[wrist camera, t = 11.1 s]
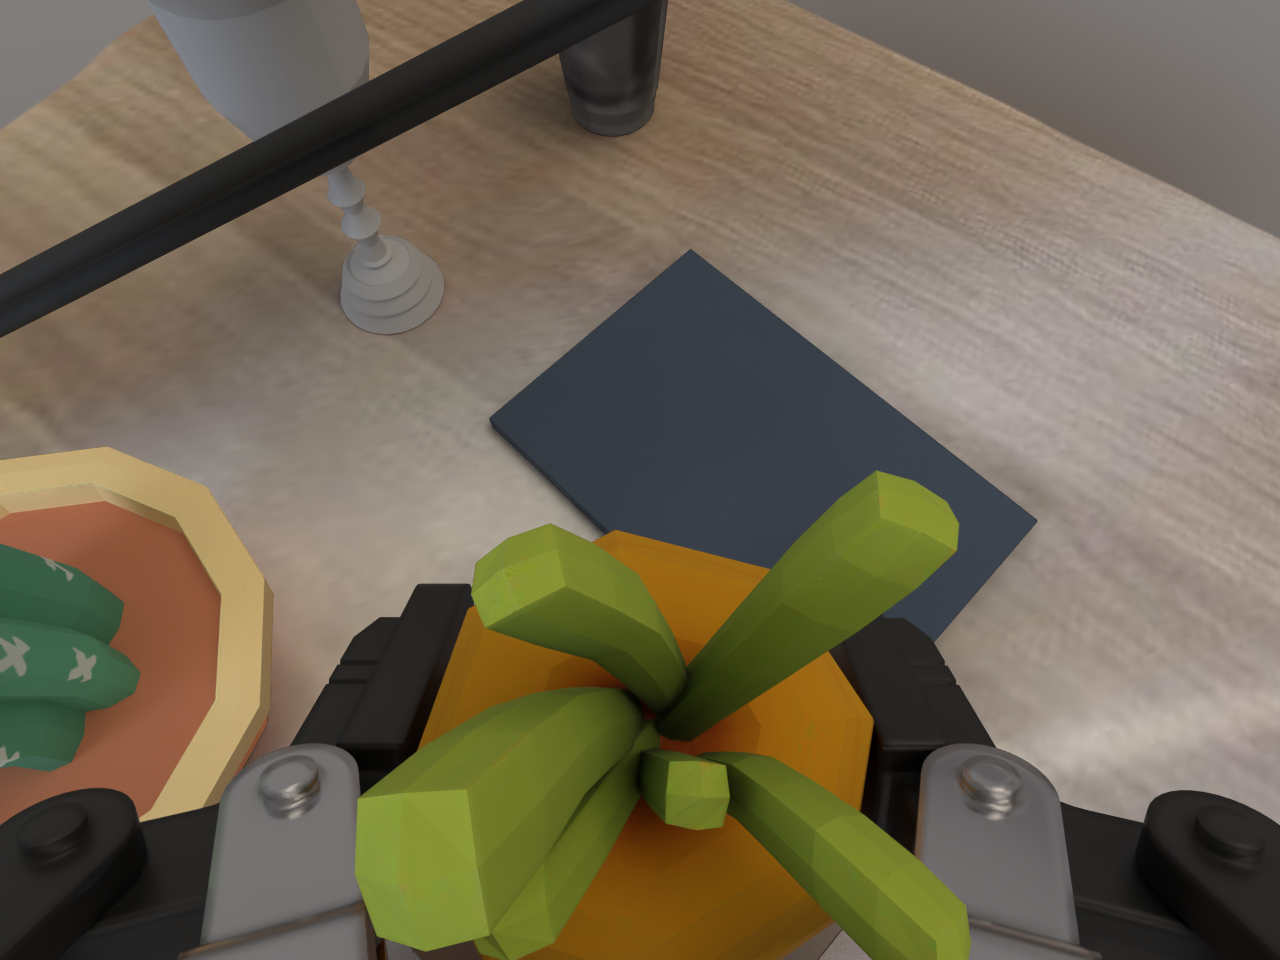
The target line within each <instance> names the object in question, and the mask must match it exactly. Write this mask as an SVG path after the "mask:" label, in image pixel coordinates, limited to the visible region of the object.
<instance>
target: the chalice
mask: <svg viewBox="0 0 1280 960" xmlns="http://www.w3.org/2000/svg"><path fill="white" fill-rule="evenodd" d="M146 2H147V3H148V5H149V7H150V8H151V10H152V12H153V13H154V15H155V17H156V18H157V20H158V22H159V23H160V25H161V27H162V28H163V30H164V32H165V33H166V35H167V37H168V38H169V40H170V42H171V43H172V45H173V47H174V48H175V50H176V52H177V53H178V55H179V57H180V58H181V60H182V62H183V63H184V65H185V67H186V68H187V70H188V72H189V73H190V75H191V77H192V78H193V80H194V82H195V83H196V85H197V87H198V88H199V90H200V92H201V93H202V95H203V96H204V97H205V98H206V99H207V101H208V102H209V103H210V104H211V105H212V106H213V107H214V108H215V109H216V110H217V111H218V112H219V113H220V114H222V115H223V116H224V117H225V118H226V119H228V120H229V121H230V122H231V123H232V124H233V125H235V126H236V127H237V128H238V129H239V130H241V131H242V132H243V133H244V134H245V135H247V136H248V137H249V138H250V139H251V140H252V141H256V140H258V139H260V138H262V137H264V136H266V135H267V134H269V133H271V132H273V131H275V130H277V129H279V128H281V127H283V126H285V125H287V124H288V123H290V122H292V121H294V120H296V119H298V118H300V117H302V116H304V115H306V114H308V113H309V112H311V111H313V110H315V109H317V108H319V107H321V106H323V105H325V104H327V103H329V102H330V101H332V100H334V99H336V98H338V97H340V96H342V95H344V94H346V93H348V92H350V91H351V90H353V89H355V88H357V87H359V86H361V85H363V84H365V83H367V82H369V36H368V33H367V30H366V27H365V24H364V21H363V19H362V16H361V13H360V10H359V7H358V4H357V1H356V0H146ZM355 158H356V157H355ZM355 158H353V159H351V160H349V161H347V162H345V163H343V164H341V165H339V166H337V167H335V168H333V169H331V170H329V171H328V172H326V173H324V174H322V175H327V178H328V183H329V188H328V191H327V197H328V199H329V201H330V202H331V203H332V204H334V205H336V206H338V207H341V208H342V209H343V210H344V213H345V215H344V216H343V218H342V221H341V229H342V231H343V233H344V234H345V235H346V236H348V237H350V238H352V239H356V240H357V241H358V242H359V243H358V244H357V245H355V246H354V248H353V249H352V250H351V251H350V253H349V254H348V255H347V257H346V259H345V261H344V264H343V267H342V288H341V305H342V308H343V310H344V312H345V315H346V317H347V318H348V319H350V320H351V321H352V322H353V323H354V324H355V325H356V326H357V327H359V328H361V329H363V330H366V331H368V332H370V333H377V334H385V335H388V334H395V333H402V332H405V331H408V330H410V329H412V328H415V327H417V326H419V325H420V324H422V323H423V322H424V321H426V320H427V319H428V318H429V317H431V316H432V314H433V313H434V312H435V310H436V309H437V307H438V306H439V305H440V303H441V300H442V296H443V293H444V277H443V275H442V273H441V271H440V269H439V267H438V265H437V264H436V263H435V262H434V261H433V260H432V259H431V258H430V257H429V256H427V255H425V254H424V253H423V252H421V251H420V250H419V249H418V248H417V247H415V246H414V245H412V244H411V243H410V242H409V241H407V240H405V239H403V238H400V237H397V236H389V235H379V236H378V232H377V230H378V228H379V227H380V224H381V216H380V214H379V212H378V211H377V210H376V209H374V208H372V207H370V206H366V205H365V204H364V203H363V197H364V194H365V191H366V186H365V184H364V182H363V181H362V180H361V179H360V178H358V177H356V176H354V175H353V174H352V172H351V171H350V170H349V168H348V167H347V166H348V165H350V164H351V163H352V162H353V160H354V159H355ZM322 175H320V176H322Z"/></svg>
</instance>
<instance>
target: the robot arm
mask: <svg viewBox="0 0 1280 960" xmlns="http://www.w3.org/2000/svg"><path fill="white" fill-rule="evenodd" d="M658 1H660V0H523V1H521V2H520V3H518V4H516V5H514V6H512V7H510V8H508V9H506V10H504V11H502V12H500V13H499V14H497V15H495V16H493V17H491V18H489V19H487V20H485V21H483V22H481V23H479V24H478V25H476V26H474V27H472V28H470V29H468V30H466V31H464V32H462V33H460V34H458V35H457V36H455V37H453V38H451V39H449V40H447V41H445V42H443V43H441V44H439V45H437V46H436V47H434V48H432V49H430V50H428V51H426V52H424V53H422V54H420V55H418V56H416V57H415V58H413V59H411V60H409V61H407V62H405V63H403V64H401V65H399V66H397V67H395V68H394V69H392V70H390V71H388V72H386V73H384V74H382V75H380V76H378V77H376V78H374V79H372V80H371V81H369V82H367V83H365V84H363V85H361V86H359V87H357V88H355V89H353V90H351V91H350V92H348V93H346V94H344V95H342V96H340V97H338V98H336V99H334V100H332V101H330V102H329V103H327V104H325V105H323V106H321V107H319V108H317V109H315V110H313V111H311V112H309V113H308V114H306V115H304V116H302V117H300V118H298V119H296V120H294V121H292V122H290V123H288V124H287V125H285V126H283V127H281V128H279V129H277V130H275V131H273V132H271V133H269V134H267V135H266V136H264V137H262V138H260V139H258V140H256V141H254V142H252V143H250V144H248V145H246V146H245V147H243V148H241V149H239V150H237V151H235V152H233V153H231V154H229V155H227V156H225V157H224V158H222V159H220V160H218V161H216V162H214V163H212V164H210V165H208V166H206V167H204V168H203V169H201V170H199V171H197V172H195V173H193V174H191V175H189V176H187V177H185V178H183V179H182V180H180V181H178V182H176V183H174V184H172V185H170V186H168V187H166V188H164V189H162V190H161V191H159V192H157V193H155V194H153V195H151V196H149V197H147V198H145V199H143V200H141V201H140V202H138V203H136V204H134V205H132V206H130V207H128V208H126V209H124V210H122V211H120V212H119V213H117V214H115V215H113V216H111V217H109V218H107V219H105V220H103V221H101V222H99V223H98V224H96V225H94V226H92V227H90V228H88V229H86V230H84V231H82V232H80V233H78V234H77V235H75V236H73V237H71V238H69V239H67V240H65V241H63V242H61V243H59V244H57V245H56V246H54V247H52V248H50V249H48V250H46V251H44V252H42V253H40V254H38V255H36V256H35V257H33V258H31V259H29V260H27V261H25V262H23V263H21V264H19V265H17V266H15V267H14V268H12V269H10V270H8V271H6V272H4V273H2V274H0V338H1V337H3V336H5V335H7V334H9V333H11V332H13V331H15V330H17V329H19V328H21V327H23V326H25V325H27V324H29V323H31V322H33V321H35V320H37V319H39V318H41V317H43V316H45V315H47V314H49V313H51V312H53V311H55V310H57V309H59V308H61V307H63V306H65V305H67V304H69V303H71V302H73V301H75V300H77V299H79V298H81V297H83V296H85V295H87V294H88V293H90V292H92V291H94V290H96V289H98V288H100V287H102V286H104V285H106V284H108V283H110V282H112V281H114V280H116V279H118V278H120V277H122V276H124V275H126V274H128V273H130V272H132V271H134V270H136V269H137V268H139V267H141V266H143V265H145V264H147V263H149V262H151V261H153V260H155V259H157V258H159V257H161V256H163V255H165V254H167V253H169V252H171V251H173V250H175V249H177V248H179V247H181V246H183V245H184V244H186V243H188V242H190V241H192V240H194V239H196V238H198V237H200V236H202V235H204V234H206V233H208V232H210V231H212V230H214V229H216V228H218V227H220V226H222V225H224V224H226V223H228V222H230V221H232V220H233V219H235V218H237V217H239V216H241V215H243V214H245V213H247V212H249V211H251V210H253V209H255V208H257V207H259V206H261V205H263V204H265V203H267V202H269V201H271V200H273V199H275V198H277V197H279V196H281V195H282V194H284V193H286V192H288V191H290V190H292V189H294V188H296V187H298V186H300V185H302V184H304V183H306V182H308V181H310V180H312V179H314V178H316V177H318V176H320V175H322V174H324V173H326V172H328V171H329V170H331V169H333V168H335V167H337V166H339V165H341V164H343V163H345V162H347V161H349V160H351V159H353V158H355V157H357V156H359V155H361V154H363V153H365V152H367V151H369V150H371V149H373V148H375V147H377V146H378V145H380V144H382V143H384V142H386V141H388V140H390V139H392V138H394V137H396V136H398V135H400V134H402V133H404V132H406V131H408V130H410V129H412V128H414V127H416V126H418V125H420V124H422V123H424V122H426V121H427V120H429V119H431V118H433V117H435V116H437V115H439V114H441V113H443V112H445V111H447V110H449V109H451V108H453V107H455V106H457V105H459V104H461V103H463V102H465V101H467V100H469V99H471V98H473V97H474V96H476V95H478V94H480V93H482V92H484V91H486V90H488V89H490V88H492V87H494V86H496V85H498V84H500V83H502V82H504V81H505V80H507V79H509V78H511V77H513V76H515V75H517V74H519V73H521V72H523V71H525V70H527V69H529V68H531V67H533V66H534V65H536V64H538V63H540V62H542V61H544V60H546V59H548V58H550V57H552V56H554V55H556V54H558V53H560V52H562V51H563V50H565V49H567V48H569V47H571V46H573V45H575V44H577V43H579V42H581V41H583V40H585V39H587V38H589V37H591V36H592V35H594V34H596V33H598V32H600V31H602V30H604V29H606V28H608V27H610V26H612V25H614V24H616V23H618V22H620V21H621V20H623V19H625V18H627V17H629V16H631V15H633V14H635V13H637V12H639V11H641V10H643V9H645V8H647V7H649V6H651V5H652V4H654V3H656V2H658ZM471 592H472V588H471V586H470V584H418V585H417V586H416V587H415V589H414V591H413V593H412V595H411V597H410V599H409V601H408V603H407V605H406V607H405V609H404V611H403V613H402V615H401V617H380V618H378V619H377V620H376V621H374V622H373V623H372V624H370V625H369V626H368V627H366V628H365V629H364V630H363V631H361V632H360V633H359V634H357V635H356V636H355V637H354V638H353V639H352V641H351V643H350V644H349V646H348V648H347V650H346V651H345V653H344V655H343V656H342V658H341V660H340V665H337V667H336V668H335V670H334V672H333V673H332V675H331V677H330V679H329V684H326V685H325V687H324V689H323V691H322V692H321V694H320V696H319V697H318V699H317V701H316V702H315V704H314V706H313V708H312V709H311V711H310V713H309V714H308V716H307V718H306V720H305V721H304V723H303V725H302V726H301V728H300V730H299V732H298V733H297V735H296V737H295V738H294V740H293V742H292V743H291V745H290V747H286V748H282V749H279V750H276V751H274V752H271V753H269V754H267V755H264V756H262V757H260V758H258V759H257V760H255V761H253V762H252V763H250V764H249V765H247V766H246V767H245V768H243V769H242V770H241V771H240V772H239V773H238V774H237V775H236V776H234V777H233V778H232V780H231V781H230V782H229V784H228V785H227V786H226V788H225V790H224V792H223V794H222V797H221V800H220V803H217V804H214V805H211V806H207V807H204V808H200V809H196V810H191V811H187V812H183V813H178V814H174V815H169V816H165V817H161V818H156V819H152V820H148V821H143V822H140V821H139V817H138V814H137V810H136V807H135V805H134V802H133V800H132V799H131V798H130V797H129V796H128V795H126V794H124V793H123V792H121V791H117V790H114V789H108V788H87V789H79V790H75V791H70V792H66V793H62V794H59V795H56V796H53V797H50V798H48V799H45V800H43V801H40V802H38V803H36V804H34V805H32V806H30V807H28V808H26V809H24V810H22V811H21V812H19V813H17V814H16V815H14V816H12V817H11V818H9V819H8V820H7V821H5V822H4V823H2V824H1V825H0V960H388V956H387V948H386V942H385V939H384V938H381V937H378V936H377V935H376V932H375V930H374V927H373V924H372V921H371V918H370V916H369V913H368V910H367V907H366V904H365V902H364V899H363V896H362V893H361V891H360V888H359V885H358V882H357V879H356V877H355V850H356V826H357V801H358V798H359V797H360V796H362V795H363V794H364V793H365V792H367V791H368V790H369V789H370V788H372V787H373V786H374V785H375V784H377V783H378V782H379V781H380V780H382V779H383V778H384V777H385V776H387V775H388V774H389V773H390V772H392V771H393V770H394V769H395V768H397V767H398V766H399V765H401V764H402V763H403V762H404V761H406V760H407V759H408V758H409V757H411V756H412V755H413V754H414V753H416V752H417V750H418V747H419V744H420V742H421V739H422V736H423V733H424V730H425V728H426V725H427V722H428V719H429V716H430V714H431V711H432V708H433V705H434V702H435V700H436V697H437V694H438V691H439V688H440V686H441V683H442V680H443V677H444V675H445V672H446V669H447V666H448V663H449V661H450V658H451V655H452V652H453V649H454V647H455V644H456V641H457V638H458V635H459V633H460V630H461V627H462V624H463V622H464V619H465V616H466V613H467V611H468V609H469V608H471V607H473V606H474V600H473V598H472V596H471ZM829 653H830V654H831V656H832V657H833V659H834V660H835V662H836V663H837V665H838V666H839V668H840V669H841V671H842V672H843V674H844V675H845V677H846V678H847V680H848V681H849V683H850V684H851V686H852V688H853V689H854V691H855V692H856V694H857V695H858V697H859V698H860V700H861V701H862V703H863V704H864V706H865V707H866V709H867V710H868V712H869V713H870V715H871V716H872V718H873V720H874V725H873V732H872V738H871V745H870V751H869V758H868V765H867V771H866V778H865V784H864V791H863V798H862V804H861V811H860V812H861V813H862V814H864V815H865V816H866V817H867V818H869V819H870V820H871V821H872V822H873V823H875V824H876V825H877V826H878V827H880V828H881V829H882V830H883V831H884V832H886V833H887V834H888V835H889V836H891V837H892V838H893V839H894V840H896V841H897V842H898V843H899V844H900V845H902V846H903V847H904V848H905V849H907V850H908V851H909V852H910V853H911V854H913V855H914V856H915V857H916V858H918V859H919V860H920V861H921V862H922V863H923V864H924V865H925V866H926V867H927V868H928V869H929V870H930V871H931V872H932V873H933V874H934V875H935V876H936V877H937V878H938V879H939V880H940V881H942V882H943V883H944V884H945V885H946V886H947V887H948V888H949V889H950V890H951V891H952V892H953V893H954V894H955V895H956V896H957V897H958V898H959V899H960V900H961V901H962V902H963V903H964V904H965V905H966V908H967V916H968V923H969V930H970V938H971V948H970V954H969V960H1280V825H1279V824H1277V823H1276V822H1274V821H1273V820H1272V819H1270V818H1268V817H1267V816H1265V815H1263V814H1262V813H1260V812H1258V811H1256V810H1254V809H1252V808H1250V807H1248V806H1246V805H1244V804H1241V803H1239V802H1237V801H1234V800H1232V799H1228V798H1225V797H1222V796H1219V795H1215V794H1211V793H1206V792H1200V791H1191V790H1179V791H1171V792H1167V793H1164V794H1161V795H1159V796H1158V797H1156V798H1155V799H1154V800H1153V801H1152V802H1151V803H1150V805H1149V807H1148V809H1147V813H1146V816H1145V820H1144V823H1141V822H1137V821H1132V820H1128V819H1124V818H1119V817H1115V816H1111V815H1106V814H1102V813H1097V812H1093V811H1089V810H1085V809H1081V808H1077V807H1074V806H1071V805H1068V804H1065V803H1063V802H1060V800H1059V797H1058V794H1057V792H1056V790H1055V788H1054V786H1053V785H1052V784H1051V782H1050V781H1049V780H1048V778H1047V777H1046V776H1044V775H1043V774H1042V773H1041V772H1040V771H1039V770H1038V769H1037V768H1035V767H1034V766H1033V765H1031V764H1030V763H1028V762H1027V761H1025V760H1023V759H1022V758H1020V757H1018V756H1016V755H1013V754H1011V753H1009V752H1006V751H1004V750H1001V749H998V748H996V747H995V745H994V743H993V741H992V740H991V738H990V736H989V735H988V733H987V731H986V730H985V728H984V726H983V725H982V723H981V721H980V720H979V718H978V716H977V715H976V713H975V711H974V709H973V708H972V706H971V704H970V703H969V701H968V699H967V698H966V696H965V694H964V693H963V691H962V689H961V688H960V686H959V685H956V679H955V678H954V676H953V674H952V672H951V671H950V669H949V667H948V666H945V661H944V659H943V657H942V656H941V654H940V652H939V651H938V649H937V647H936V646H935V644H934V642H933V641H932V639H931V638H930V637H929V636H928V635H926V634H925V633H924V632H922V631H921V630H920V629H918V628H917V627H916V626H914V625H913V624H912V623H910V622H909V621H908V620H907V619H905V618H884V616H883V614H881V615H880V616H878V617H877V618H876V619H874V620H873V621H872V622H870V623H869V624H867V625H866V626H865V627H863V628H862V629H861V630H859V631H858V632H856V633H855V634H853V635H852V636H850V637H849V638H847V639H846V640H844V641H843V642H841V643H840V644H838V645H837V646H835V647H834V648H832V649H830V650H829Z"/></svg>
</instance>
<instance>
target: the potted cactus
mask: <svg viewBox="0 0 1280 960" xmlns="http://www.w3.org/2000/svg"><path fill="white" fill-rule="evenodd" d="M272 624H273V593H272V591H271V589H270V587H269V585H268V584H267V582H266V580H265V578H264V577H263V575H262V573H261V572H260V570H259V569H258V567H257V566H256V564H255V562H254V561H253V559H252V558H251V556H250V554H249V553H248V551H247V550H246V548H245V546H244V545H243V543H242V542H241V540H240V538H239V537H238V535H237V534H236V532H235V530H234V529H233V527H232V526H231V524H230V522H229V521H228V519H227V518H226V516H225V514H224V513H223V511H222V510H221V508H220V507H219V505H218V503H217V502H216V500H215V499H214V497H213V495H212V494H211V492H210V491H209V489H208V487H206V486H204V485H201V484H199V483H196V482H194V481H191V480H189V479H186V478H184V477H182V476H179V475H177V474H174V473H172V472H169V471H167V470H164V469H162V468H159V467H157V466H154V465H152V464H149V463H147V462H144V461H142V460H139V459H137V458H134V457H132V456H129V455H127V454H124V453H122V452H120V451H117V450H115V449H112V448H110V447H100V448H92V449H84V450H76V451H69V452H61V453H53V454H45V455H37V456H29V457H21V458H13V459H6V460H0V825H1V824H2V823H4V822H5V821H7V820H8V819H9V818H11V817H12V816H14V815H16V814H17V813H19V812H21V811H22V810H24V809H26V808H28V807H30V806H32V805H34V804H36V803H38V802H40V801H43V800H45V799H48V798H50V797H53V796H56V795H59V794H62V793H66V792H70V791H75V790H79V789H87V788H108V789H114V790H117V791H121V792H123V793H124V794H126V795H128V796H129V797H130V798H131V799H132V800H133V802H134V805H135V807H136V810H137V814H138V817H139V821H140V822H143V821H148V820H152V819H156V818H161V817H165V816H169V815H174V814H178V813H183V812H187V811H191V810H196V809H200V808H204V807H207V806H211V805H214V804H217V803H219V801H220V799H221V797H222V794H223V792H224V790H225V788H226V786H227V785H228V784H229V782H230V781H231V780H232V778H233V777H234V776H236V775H237V774H238V773H239V772H240V771H241V770H242V769H243V767H244V765H245V763H246V761H247V760H248V758H249V756H250V754H251V752H252V751H253V749H254V747H255V745H256V743H257V742H258V740H259V738H260V736H261V735H262V733H263V731H264V729H265V727H266V726H267V717H268V713H269V711H270V688H271V656H272Z"/></svg>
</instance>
